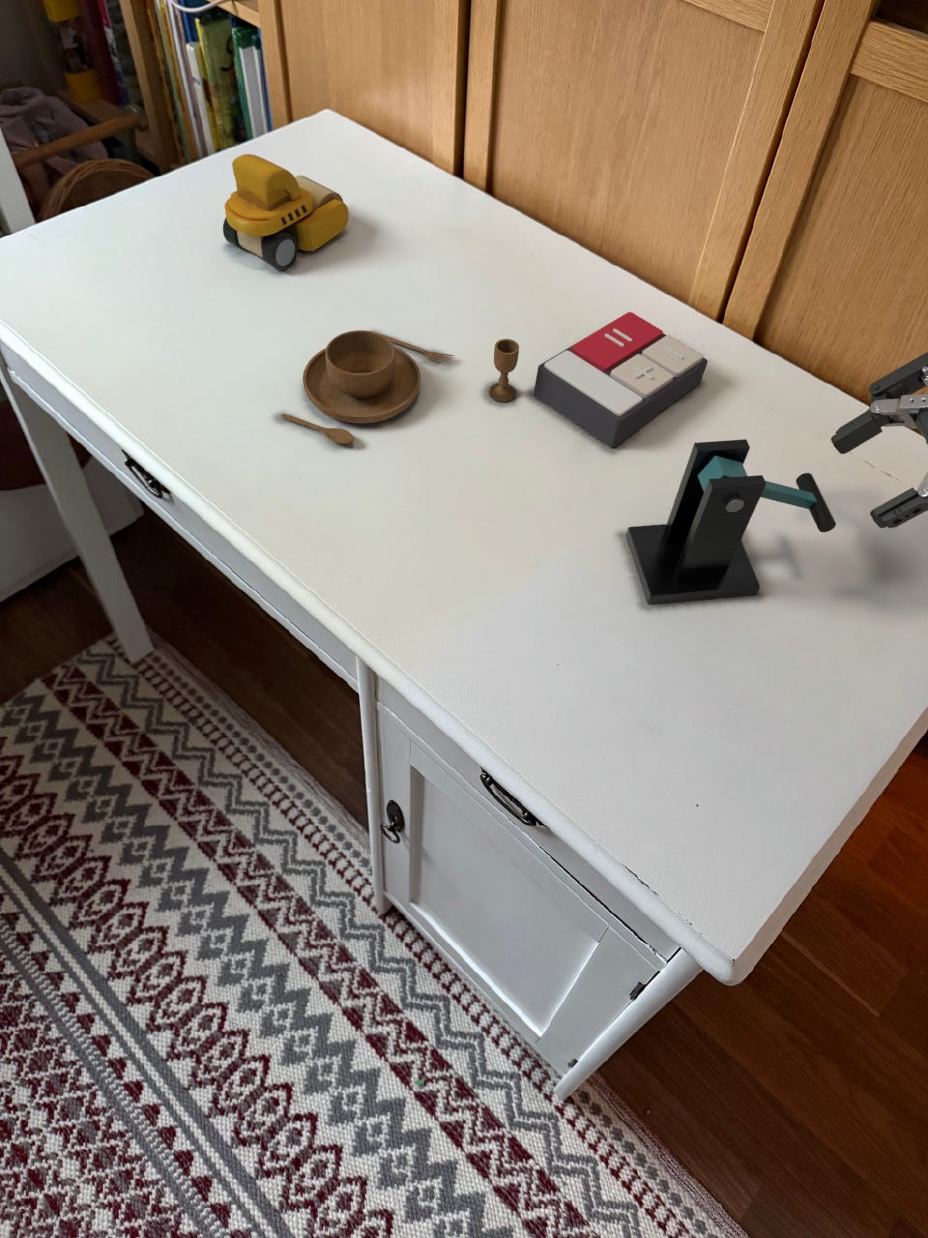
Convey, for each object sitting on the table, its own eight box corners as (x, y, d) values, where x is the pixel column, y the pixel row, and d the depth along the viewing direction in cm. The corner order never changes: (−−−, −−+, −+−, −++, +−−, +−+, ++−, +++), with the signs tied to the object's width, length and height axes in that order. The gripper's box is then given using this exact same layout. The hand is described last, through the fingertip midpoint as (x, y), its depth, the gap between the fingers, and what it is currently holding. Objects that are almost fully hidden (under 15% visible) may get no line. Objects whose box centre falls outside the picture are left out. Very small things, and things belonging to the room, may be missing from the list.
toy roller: (356, 229, 110) (351, 143, 102) (270, 282, 103) (257, 194, 95) (303, 202, 113) (294, 116, 105) (217, 252, 106) (199, 163, 98)
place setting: (359, 324, 100) (357, 276, 95) (522, 387, 95) (528, 340, 90) (266, 418, 91) (258, 370, 86) (441, 492, 86) (443, 447, 81)
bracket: (729, 527, 85) (773, 423, 74) (756, 594, 80) (807, 495, 70) (625, 535, 84) (655, 431, 73) (647, 604, 79) (683, 504, 69)
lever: (800, 489, 80) (819, 470, 78) (823, 537, 77) (844, 519, 75) (691, 460, 75) (708, 440, 73) (711, 511, 72) (730, 490, 70)
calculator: (712, 354, 94) (622, 415, 87) (700, 387, 97) (612, 449, 90) (629, 305, 98) (537, 359, 91) (620, 338, 101) (531, 394, 94)
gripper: (1120, 455, 66) (904, 566, 74) (1025, 332, 74) (840, 444, 82) (1099, 404, 61) (870, 528, 69) (1000, 278, 69) (805, 402, 77)
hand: (854, 482), depth 76 cm, fingers open, 8 cm apart
